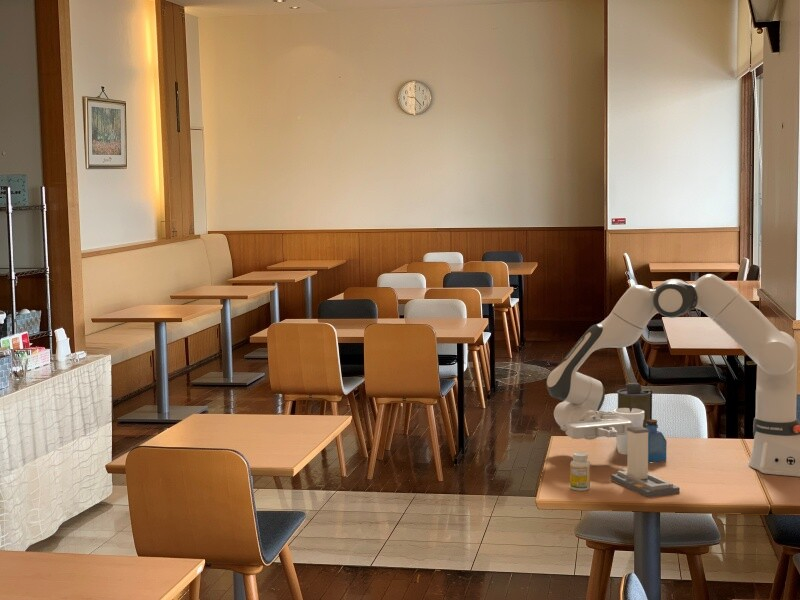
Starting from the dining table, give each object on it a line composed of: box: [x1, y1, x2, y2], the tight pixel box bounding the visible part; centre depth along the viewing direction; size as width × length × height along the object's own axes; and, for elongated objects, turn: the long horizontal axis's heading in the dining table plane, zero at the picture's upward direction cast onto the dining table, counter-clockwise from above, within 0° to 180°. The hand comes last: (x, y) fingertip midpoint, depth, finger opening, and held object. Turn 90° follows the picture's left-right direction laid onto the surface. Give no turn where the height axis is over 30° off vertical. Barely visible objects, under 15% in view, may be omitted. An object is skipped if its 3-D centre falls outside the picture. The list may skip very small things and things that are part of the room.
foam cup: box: [612, 407, 644, 455], centre depth 319 cm, size 10×9×13 cm
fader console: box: [610, 470, 681, 498], centre depth 283 cm, size 18×10×2 cm, turn 20°
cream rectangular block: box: [626, 426, 649, 479], centre depth 285 cm, size 4×4×14 cm
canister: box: [616, 382, 653, 428], centre depth 327 cm, size 11×10×20 cm
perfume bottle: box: [646, 418, 668, 463], centre depth 310 cm, size 6×6×12 cm
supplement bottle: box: [569, 451, 591, 492], centre depth 282 cm, size 5×5×10 cm
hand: (613, 434), depth 297 cm, fingers closed
